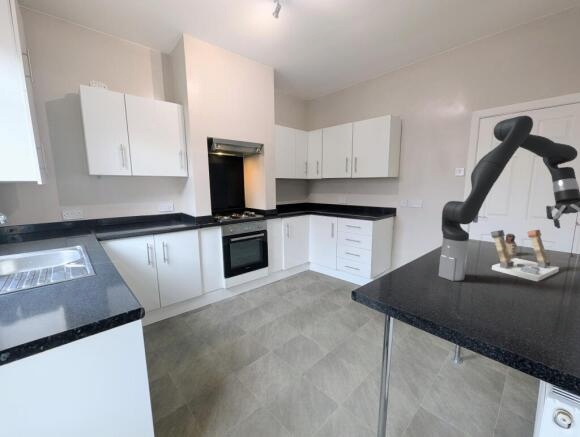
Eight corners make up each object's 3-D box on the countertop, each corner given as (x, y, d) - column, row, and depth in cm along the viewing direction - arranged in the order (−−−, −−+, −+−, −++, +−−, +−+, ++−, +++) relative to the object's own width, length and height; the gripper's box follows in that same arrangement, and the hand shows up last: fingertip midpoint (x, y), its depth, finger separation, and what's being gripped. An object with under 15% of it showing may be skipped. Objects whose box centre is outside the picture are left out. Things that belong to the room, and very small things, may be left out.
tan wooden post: (508, 267, 112) (497, 231, 114) (500, 267, 114) (490, 232, 117) (513, 265, 114) (503, 229, 117) (506, 265, 117) (496, 230, 119)
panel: (537, 281, 102) (538, 272, 102) (491, 269, 116) (492, 261, 116) (558, 271, 114) (559, 262, 113) (514, 261, 128) (515, 253, 127)
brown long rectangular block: (546, 266, 112) (534, 230, 115) (538, 267, 115) (527, 231, 117) (551, 264, 115) (539, 229, 117) (543, 265, 117) (531, 230, 120)
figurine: (518, 254, 140) (521, 233, 138) (514, 256, 136) (517, 235, 134) (502, 251, 146) (504, 231, 144) (498, 253, 142) (500, 233, 140)
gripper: (541, 193, 112) (547, 227, 109) (589, 184, 101) (597, 223, 97) (546, 196, 116) (552, 229, 113) (592, 188, 104) (601, 226, 101)
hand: (573, 226), depth 105 cm, fingers open, 8 cm apart
